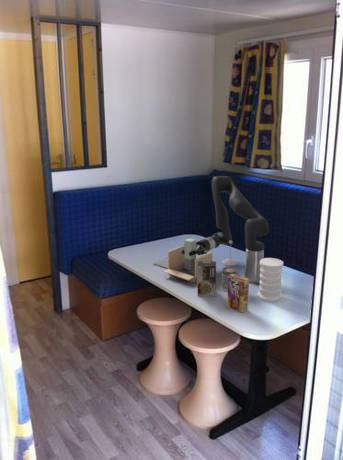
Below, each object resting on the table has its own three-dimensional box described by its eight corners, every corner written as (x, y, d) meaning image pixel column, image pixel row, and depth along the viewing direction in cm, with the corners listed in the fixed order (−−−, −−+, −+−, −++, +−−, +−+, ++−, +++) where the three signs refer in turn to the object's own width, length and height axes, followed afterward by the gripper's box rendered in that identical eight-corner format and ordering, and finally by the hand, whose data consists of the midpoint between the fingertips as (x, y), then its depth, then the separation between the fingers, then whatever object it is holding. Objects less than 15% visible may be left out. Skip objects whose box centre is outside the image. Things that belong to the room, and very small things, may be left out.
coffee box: (215, 291, 221) (216, 261, 216) (215, 297, 215) (216, 265, 210) (197, 290, 222) (197, 260, 217) (197, 296, 216) (197, 265, 211)
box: (196, 267, 241) (196, 239, 237) (191, 270, 238) (190, 241, 233) (189, 266, 244) (189, 238, 239) (184, 268, 241) (184, 240, 236)
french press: (233, 282, 231) (234, 236, 224) (244, 291, 221) (246, 243, 213) (216, 285, 228) (217, 239, 220) (227, 294, 217) (228, 246, 210)
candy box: (248, 309, 202) (249, 278, 197) (242, 312, 199) (244, 281, 194) (232, 303, 208) (233, 273, 203) (226, 306, 205) (227, 276, 200)
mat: (182, 263, 258) (182, 262, 258) (168, 269, 250) (168, 268, 250) (167, 258, 266) (167, 257, 266) (153, 264, 257) (153, 263, 257)
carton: (217, 272, 245) (218, 249, 241) (189, 286, 227) (189, 262, 224) (190, 264, 257) (190, 242, 253) (162, 276, 240) (161, 253, 236)
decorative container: (267, 289, 222) (268, 255, 217) (286, 297, 214) (289, 262, 209) (252, 296, 215) (253, 261, 210) (272, 304, 206) (274, 268, 201)
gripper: (195, 236, 251) (175, 243, 239) (216, 241, 242) (196, 249, 230) (195, 249, 253) (175, 257, 241) (215, 254, 244) (196, 262, 232)
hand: (185, 253), depth 236 cm, fingers closed on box, 4 cm apart
